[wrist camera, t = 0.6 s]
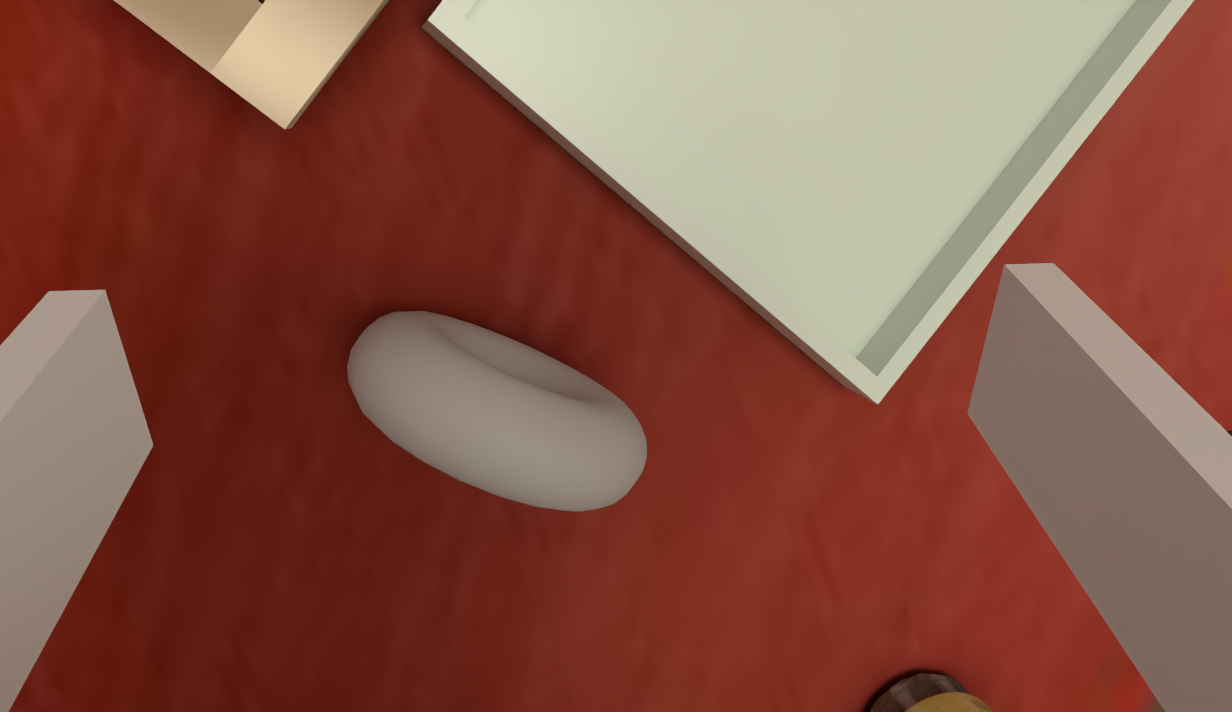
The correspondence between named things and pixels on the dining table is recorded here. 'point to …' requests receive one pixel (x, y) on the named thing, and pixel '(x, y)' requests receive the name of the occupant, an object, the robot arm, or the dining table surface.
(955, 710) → the sauce bottle
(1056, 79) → the sage tray
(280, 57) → the wooden square frame
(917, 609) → the dining table surface
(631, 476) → the donut
